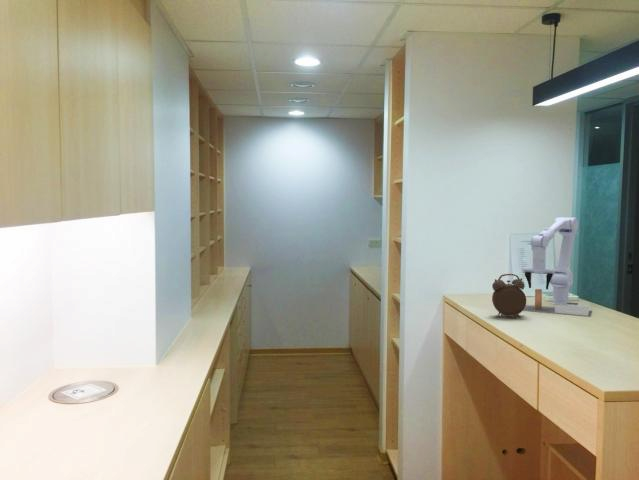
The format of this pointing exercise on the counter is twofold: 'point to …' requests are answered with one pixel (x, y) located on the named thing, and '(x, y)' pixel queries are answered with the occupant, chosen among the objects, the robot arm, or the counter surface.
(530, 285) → the robot arm
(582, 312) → the hole block
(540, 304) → the pin
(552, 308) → the rubber mat
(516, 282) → the alarm clock
